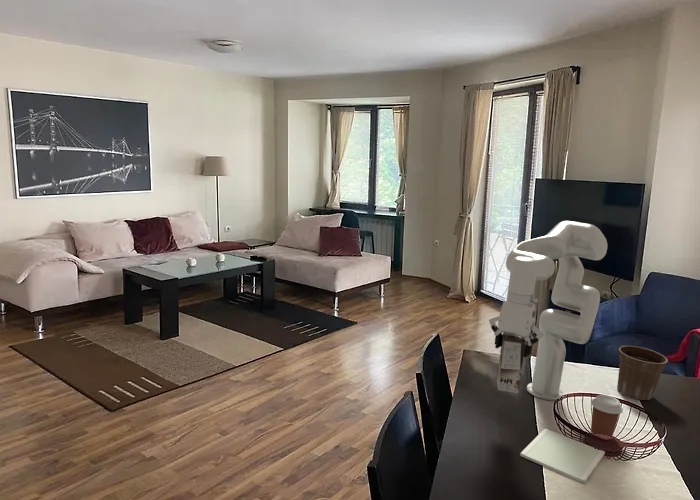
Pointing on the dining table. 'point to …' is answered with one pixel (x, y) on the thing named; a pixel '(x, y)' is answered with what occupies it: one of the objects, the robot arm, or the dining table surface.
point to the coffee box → (510, 362)
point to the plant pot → (639, 372)
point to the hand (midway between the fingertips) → (512, 351)
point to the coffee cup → (605, 414)
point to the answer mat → (563, 455)
